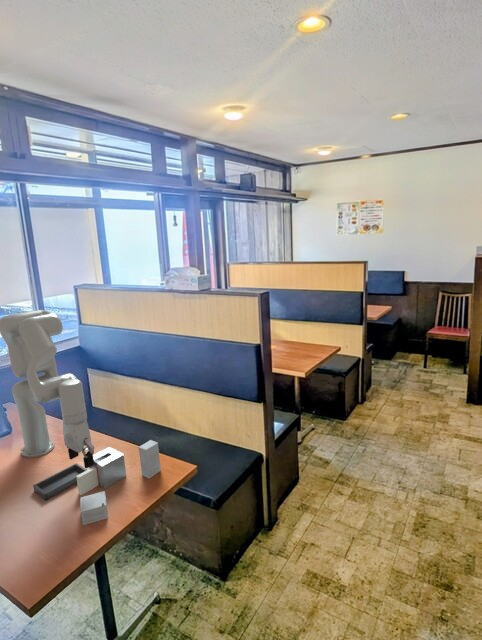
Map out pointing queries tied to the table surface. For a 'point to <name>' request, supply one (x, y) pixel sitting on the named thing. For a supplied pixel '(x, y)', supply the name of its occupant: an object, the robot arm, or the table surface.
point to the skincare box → (149, 459)
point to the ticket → (88, 480)
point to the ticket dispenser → (109, 466)
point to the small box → (93, 508)
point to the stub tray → (58, 482)
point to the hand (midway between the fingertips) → (81, 461)
